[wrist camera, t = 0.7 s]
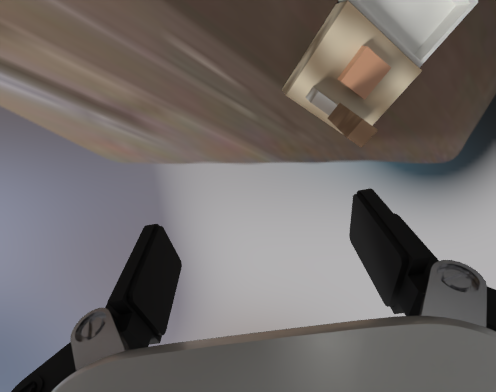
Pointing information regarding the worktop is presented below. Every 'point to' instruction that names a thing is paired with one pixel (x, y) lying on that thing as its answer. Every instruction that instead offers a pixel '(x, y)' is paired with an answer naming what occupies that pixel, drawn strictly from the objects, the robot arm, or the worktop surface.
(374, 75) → the block
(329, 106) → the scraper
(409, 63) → the board
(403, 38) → the box
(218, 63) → the worktop surface
